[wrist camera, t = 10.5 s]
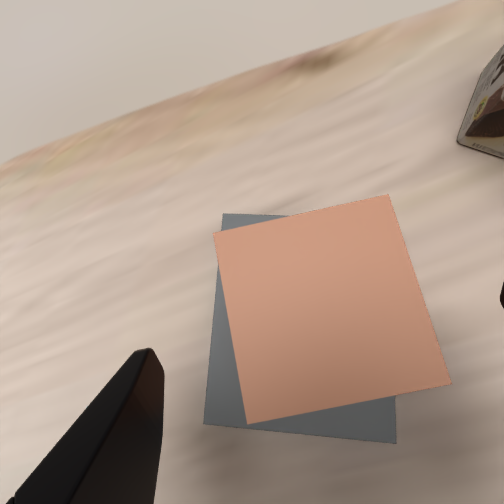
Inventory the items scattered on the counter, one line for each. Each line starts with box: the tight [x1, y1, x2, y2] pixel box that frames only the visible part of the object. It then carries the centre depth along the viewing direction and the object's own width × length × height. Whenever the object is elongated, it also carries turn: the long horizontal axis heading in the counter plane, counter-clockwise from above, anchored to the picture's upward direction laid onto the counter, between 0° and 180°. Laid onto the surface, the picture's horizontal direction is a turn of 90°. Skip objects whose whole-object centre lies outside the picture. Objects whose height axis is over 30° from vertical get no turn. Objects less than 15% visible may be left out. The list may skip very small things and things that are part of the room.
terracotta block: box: [213, 194, 452, 424], centre depth 13 cm, size 5×5×10 cm
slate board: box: [203, 214, 396, 444], centre depth 19 cm, size 12×10×1 cm
